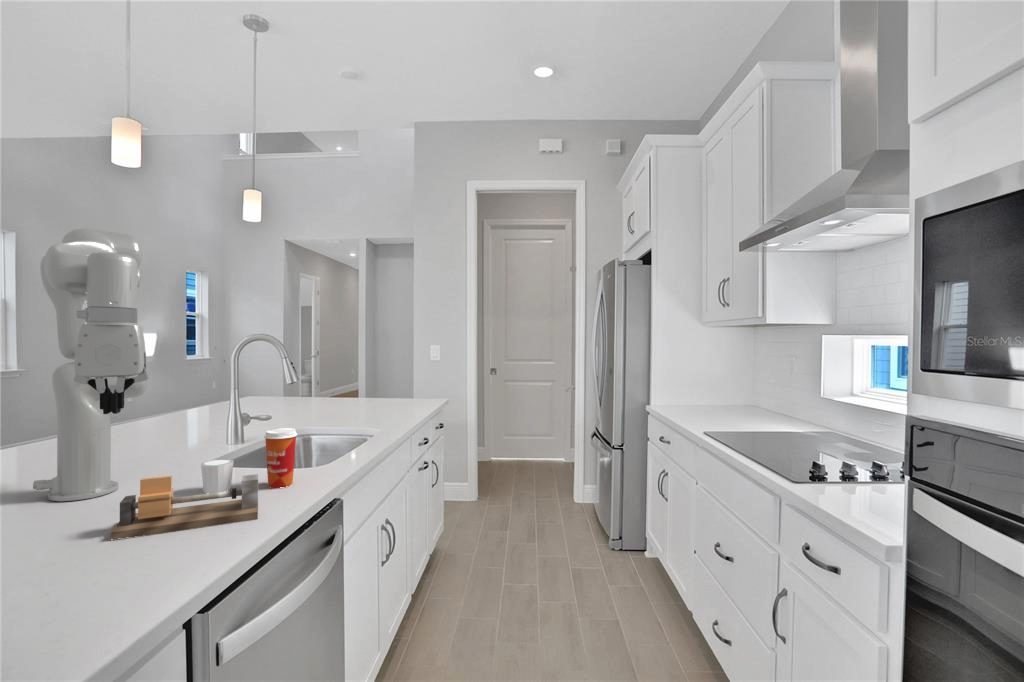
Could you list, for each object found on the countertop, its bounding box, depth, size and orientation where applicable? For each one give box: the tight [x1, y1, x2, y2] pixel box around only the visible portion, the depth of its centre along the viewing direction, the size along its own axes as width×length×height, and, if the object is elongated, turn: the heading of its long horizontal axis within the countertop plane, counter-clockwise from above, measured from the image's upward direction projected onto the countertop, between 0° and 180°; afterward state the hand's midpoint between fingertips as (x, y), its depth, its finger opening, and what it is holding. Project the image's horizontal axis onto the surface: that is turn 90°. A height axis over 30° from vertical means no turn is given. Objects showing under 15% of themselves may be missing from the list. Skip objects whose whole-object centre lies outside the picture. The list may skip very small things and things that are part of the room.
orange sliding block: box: [137, 475, 174, 519], centre depth 95 cm, size 5×4×7 cm
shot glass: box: [200, 458, 234, 494], centre depth 117 cm, size 7×7×7 cm
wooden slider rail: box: [110, 473, 259, 540], centre depth 98 cm, size 24×10×8 cm, turn 118°
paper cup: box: [263, 427, 298, 489], centre depth 122 cm, size 8×8×14 cm
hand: (112, 412), depth 92 cm, fingers closed
